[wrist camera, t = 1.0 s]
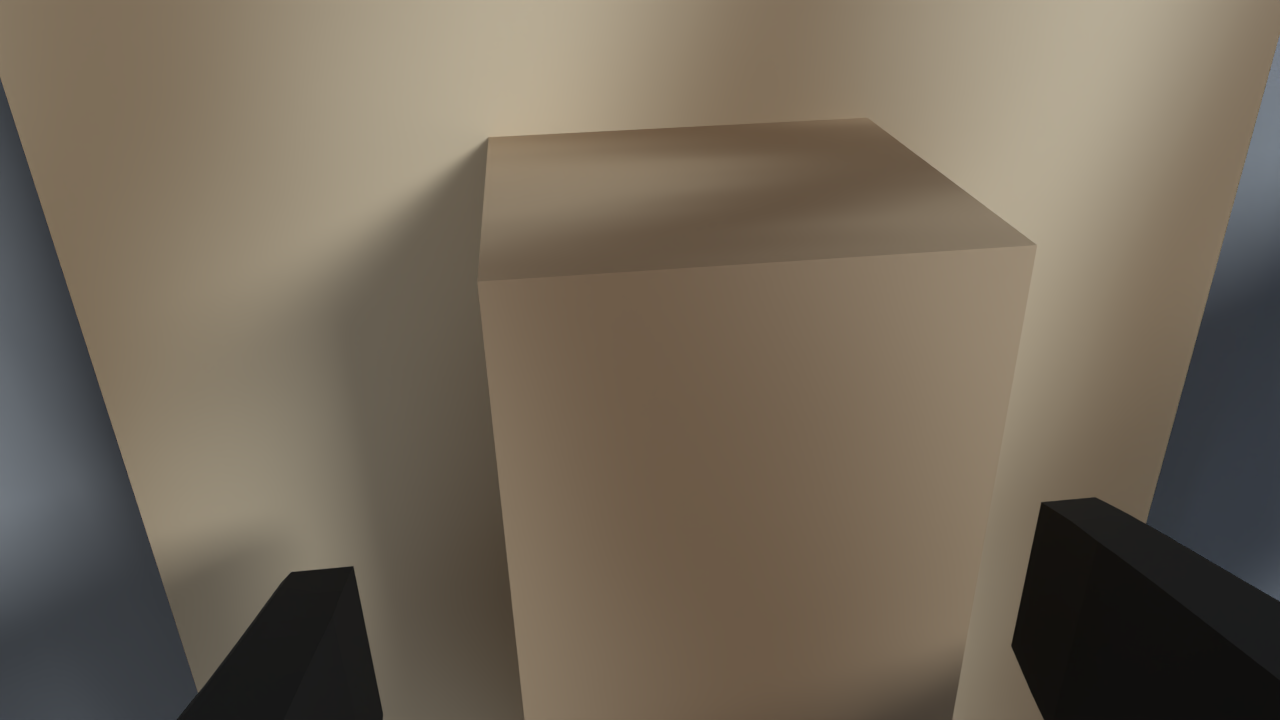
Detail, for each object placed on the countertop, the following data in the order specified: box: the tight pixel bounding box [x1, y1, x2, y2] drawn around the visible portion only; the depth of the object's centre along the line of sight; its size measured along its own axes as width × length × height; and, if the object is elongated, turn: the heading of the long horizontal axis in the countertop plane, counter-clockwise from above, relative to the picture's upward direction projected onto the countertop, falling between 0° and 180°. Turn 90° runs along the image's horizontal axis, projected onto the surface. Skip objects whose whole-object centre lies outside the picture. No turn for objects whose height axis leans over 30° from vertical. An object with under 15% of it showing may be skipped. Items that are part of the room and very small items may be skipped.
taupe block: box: [0, 0, 1280, 720], centre depth 11 cm, size 13×13×5 cm
